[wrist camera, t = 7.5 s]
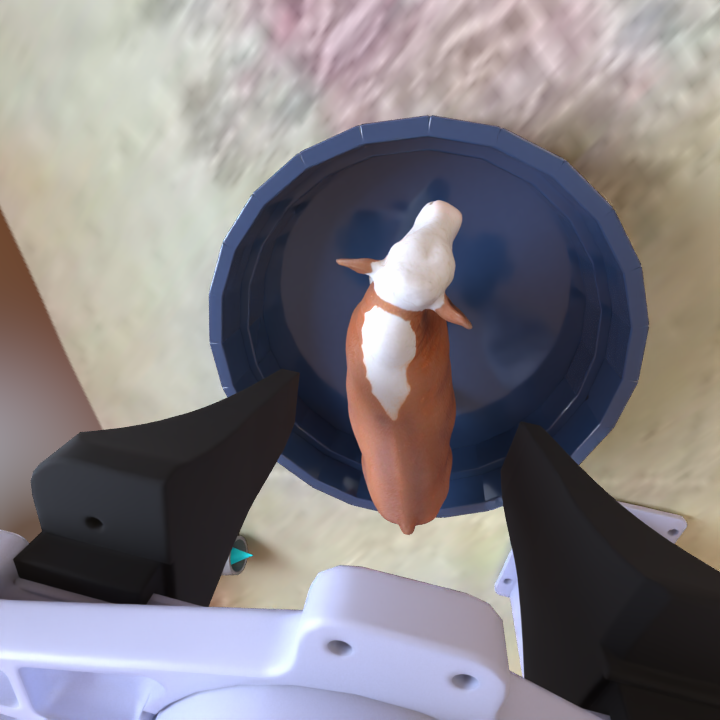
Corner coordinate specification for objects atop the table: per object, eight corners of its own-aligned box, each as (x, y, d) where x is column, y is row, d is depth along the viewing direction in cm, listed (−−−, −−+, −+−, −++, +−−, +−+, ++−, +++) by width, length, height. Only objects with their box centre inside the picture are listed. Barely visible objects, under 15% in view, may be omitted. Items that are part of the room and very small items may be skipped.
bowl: (530, 487, 25) (548, 552, 21) (245, 422, 26) (210, 472, 22) (677, 163, 17) (752, 168, 13) (256, 92, 18) (204, 77, 14)
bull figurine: (469, 184, 18) (491, 211, 10) (444, 446, 24) (448, 578, 16) (364, 185, 18) (318, 209, 11) (366, 439, 24) (337, 563, 17)
